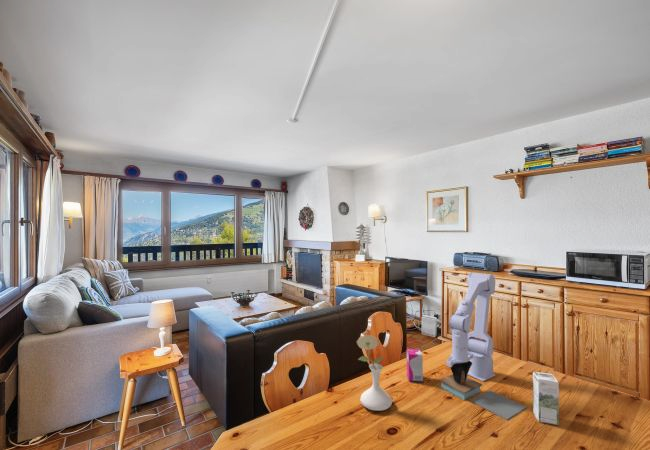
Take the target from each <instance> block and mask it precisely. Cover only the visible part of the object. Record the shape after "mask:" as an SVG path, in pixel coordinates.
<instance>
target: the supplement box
mask: <svg viewBox="0 0 650 450" xmlns="http://www.w3.org/2000/svg"><path fill="white" fill-rule="evenodd" d="M423 364H424V363H423V353H422V352H421V350H420V349H413V348H412V349H410V348H409V349H408V348H407V349H406V376H407V379H408V381H409V383H423V382H424V370H423V369H424V368H423V367H424V365H423Z"/></svg>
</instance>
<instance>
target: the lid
mask: <svg viewBox="0 0 650 450" xmlns="http://www.w3.org/2000/svg"><path fill="white" fill-rule="evenodd" d="M438 381H439V382H440V383H441V382H442V383H444V384H446V385H448V386H450V387H452V388H454V389H456V390H458V391H460V392H462V393H464V394H466V393H468V392H470V391H472V390H474V389H476V388H478V387H480V388H481V387H482V386H483V384H482V383H480V382H478V381H476V380H474V379H472V378H469V377H467V378H466V380H465V372H464V371H462V373H461V382H460V383H458V382H456V381H455V380H454V377H453V373H452V374H450V375H447V376H444V377H442V378H440V379H439V380H438Z"/></svg>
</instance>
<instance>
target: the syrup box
mask: <svg viewBox="0 0 650 450" xmlns="http://www.w3.org/2000/svg"><path fill="white" fill-rule="evenodd" d="M559 386H560V382H559V381H558V380H557V378H556V377H555V375H554V374H552V373H546V372H539V371H532V413H533V415H534V416H535V418H536V420H537V422H538V423H542V424H547V425H554V426H559V425H560V423H559V422H560V421H559V420H560V418H559V416H560V413H559V412H560V409H559V405H560V403H559V399H560V393H559V392H560V387H559Z"/></svg>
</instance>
